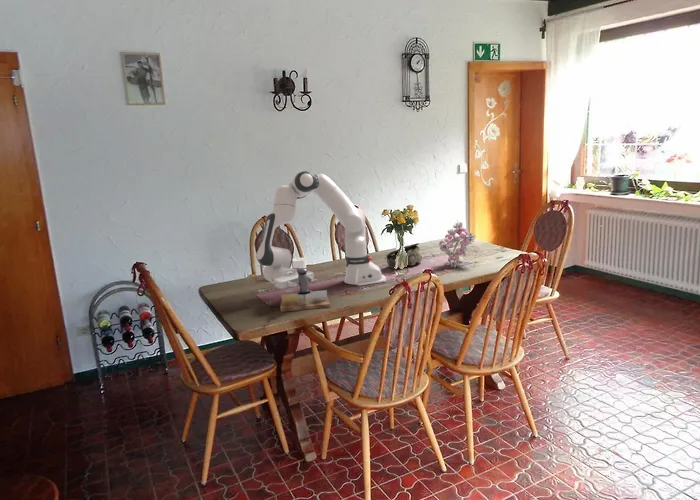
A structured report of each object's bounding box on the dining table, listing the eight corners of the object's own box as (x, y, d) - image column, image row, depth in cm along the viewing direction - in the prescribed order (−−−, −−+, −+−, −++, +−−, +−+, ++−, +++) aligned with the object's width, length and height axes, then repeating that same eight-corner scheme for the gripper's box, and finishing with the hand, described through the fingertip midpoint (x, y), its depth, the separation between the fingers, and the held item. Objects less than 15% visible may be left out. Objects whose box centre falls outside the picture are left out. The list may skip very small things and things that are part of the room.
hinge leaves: (326, 297, 256) (325, 288, 255) (328, 303, 249) (327, 292, 248) (282, 302, 254) (281, 292, 253) (282, 307, 246) (281, 297, 245)
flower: (423, 260, 315) (433, 226, 300) (449, 250, 328) (460, 216, 313) (447, 280, 304) (459, 245, 289) (473, 268, 316) (485, 235, 301)
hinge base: (328, 299, 258) (328, 296, 258) (330, 307, 248) (330, 303, 247) (280, 304, 256) (280, 301, 255) (280, 311, 245) (280, 308, 245)
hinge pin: (310, 300, 254) (307, 267, 251) (310, 303, 249) (307, 270, 246) (299, 301, 254) (296, 268, 250) (299, 304, 249) (296, 271, 245)
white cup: (291, 278, 300) (290, 261, 298) (295, 274, 307) (293, 257, 305) (305, 278, 299) (304, 260, 296) (308, 274, 306) (307, 257, 304)
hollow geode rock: (389, 279, 304) (401, 263, 294) (376, 261, 309) (388, 246, 299) (421, 267, 322) (434, 252, 312) (409, 251, 327) (421, 236, 317)
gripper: (268, 276, 251) (285, 281, 241) (302, 266, 264) (320, 271, 254) (269, 288, 253) (286, 294, 243) (303, 279, 266) (321, 284, 256)
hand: (304, 282), depth 249 cm, fingers open, 8 cm apart
